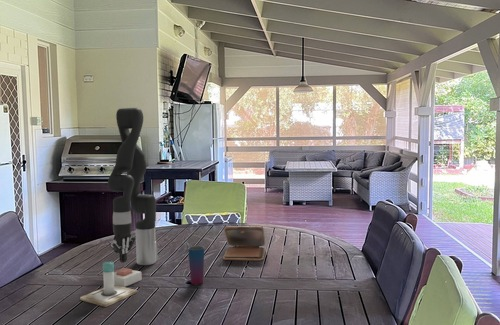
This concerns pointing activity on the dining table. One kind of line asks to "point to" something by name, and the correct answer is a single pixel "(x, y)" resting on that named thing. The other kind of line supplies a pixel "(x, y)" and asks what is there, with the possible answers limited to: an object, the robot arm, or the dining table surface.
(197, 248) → the cup
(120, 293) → the paper board
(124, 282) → the button housing
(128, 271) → the button
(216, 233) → the dining table surface
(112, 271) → the marker
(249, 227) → the case
